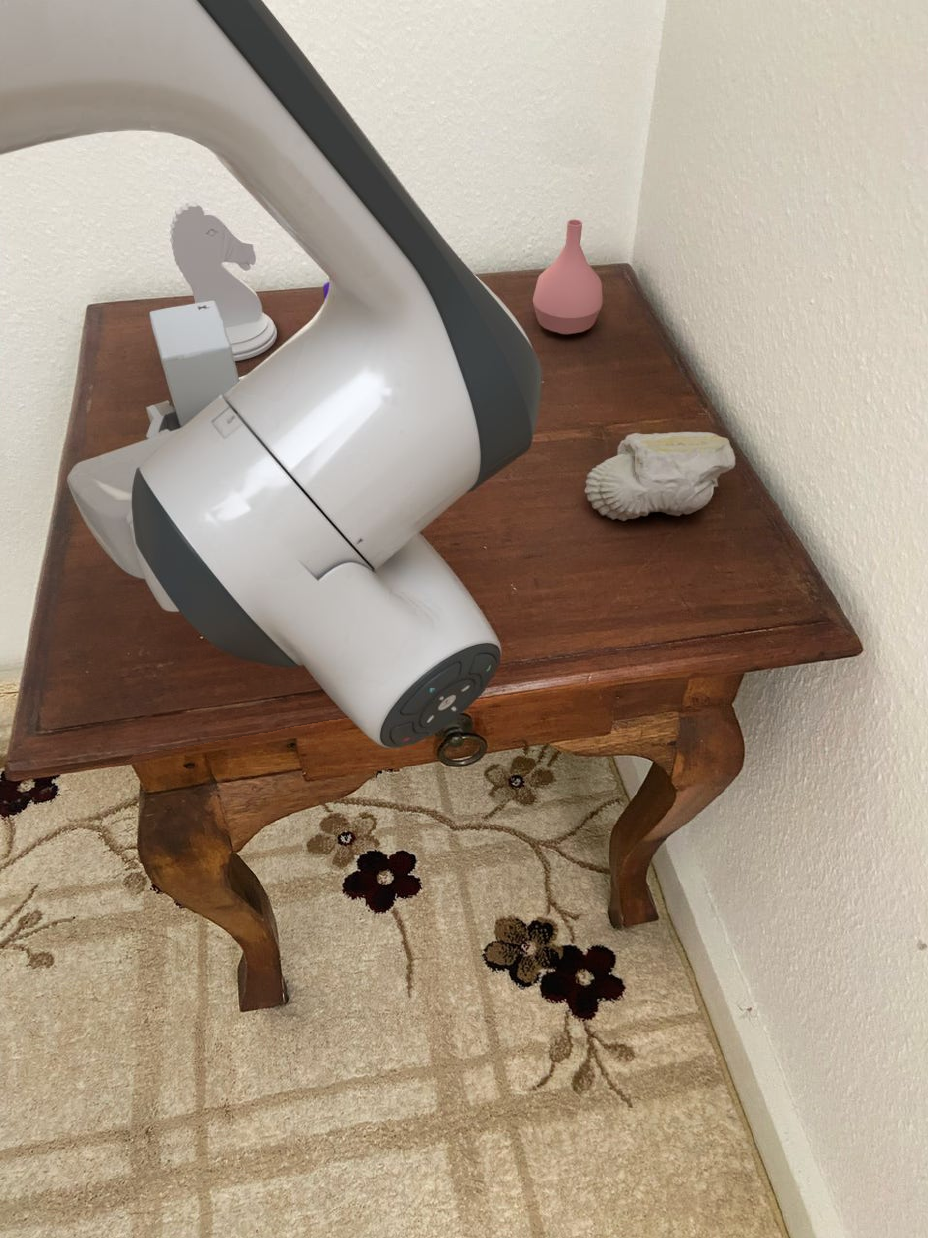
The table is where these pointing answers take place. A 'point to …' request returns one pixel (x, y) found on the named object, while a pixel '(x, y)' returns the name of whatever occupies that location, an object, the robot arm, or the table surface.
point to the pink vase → (568, 289)
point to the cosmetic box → (194, 356)
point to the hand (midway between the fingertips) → (203, 398)
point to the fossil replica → (659, 474)
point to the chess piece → (221, 277)
